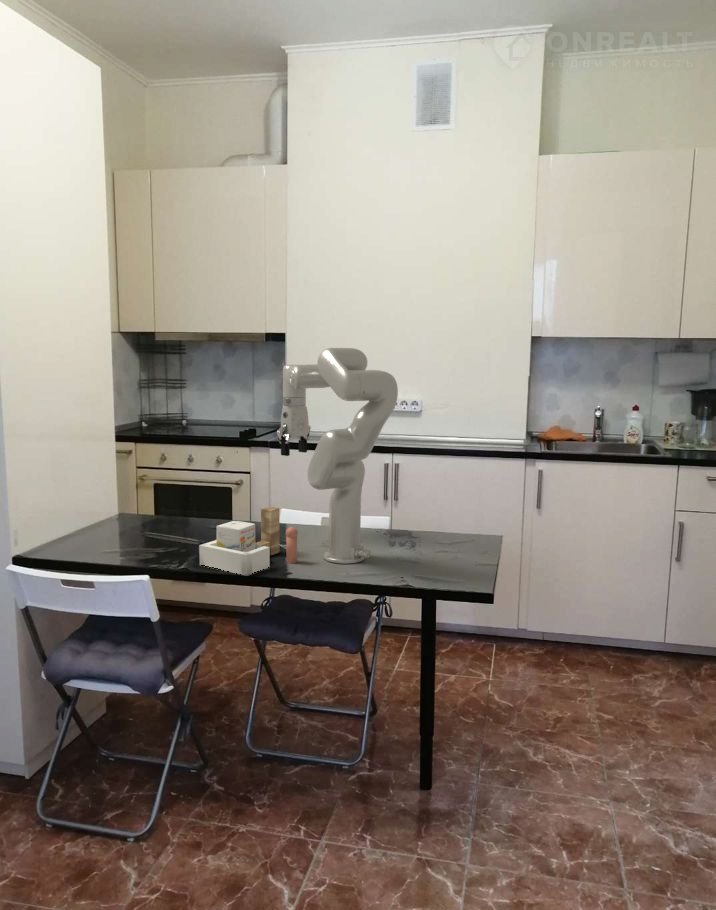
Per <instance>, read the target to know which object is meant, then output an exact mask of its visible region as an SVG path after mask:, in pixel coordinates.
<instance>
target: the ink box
mask: <svg viewBox="0 0 716 910" xmlns="http://www.w3.org/2000/svg"><path fill="white" fill-rule="evenodd" d="M216 540H217V547H222V548H227V549H232V550H237V551H242V552H249V551H251V550H254V549H255V543H256V523H254V522H253V523H252V522H246V521H240V520H237V521H236V520H231V521H229V522H226V523H225V522H224V523H222V524H219V525H216Z"/></svg>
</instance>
